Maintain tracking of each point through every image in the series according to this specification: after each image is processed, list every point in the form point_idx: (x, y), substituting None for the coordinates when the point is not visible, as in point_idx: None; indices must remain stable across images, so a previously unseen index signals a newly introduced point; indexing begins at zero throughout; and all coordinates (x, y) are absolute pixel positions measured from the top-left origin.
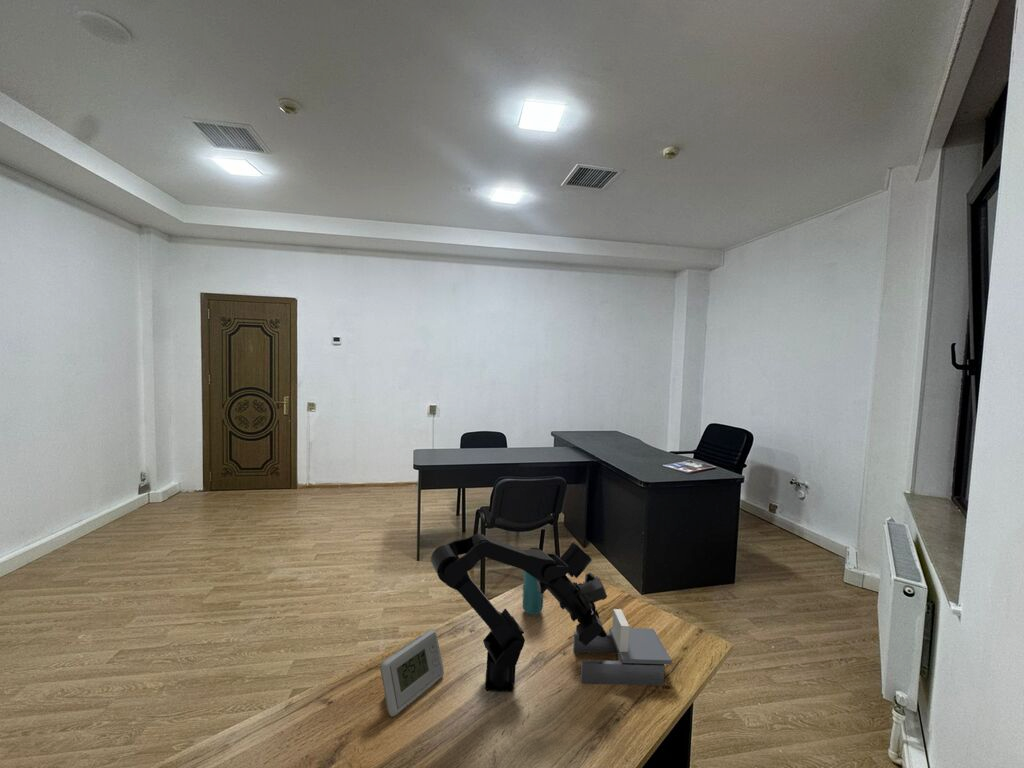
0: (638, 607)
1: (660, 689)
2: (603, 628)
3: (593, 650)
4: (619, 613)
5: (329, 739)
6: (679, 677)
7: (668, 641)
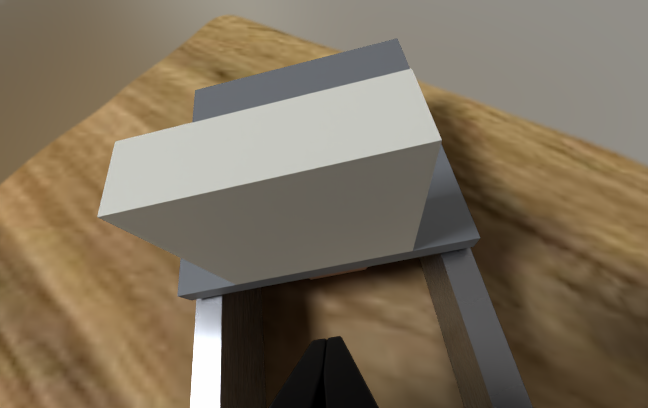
0: (20, 177)
1: None
2: (301, 367)
3: (260, 401)
4: (187, 155)
5: None
6: None
7: (193, 109)
